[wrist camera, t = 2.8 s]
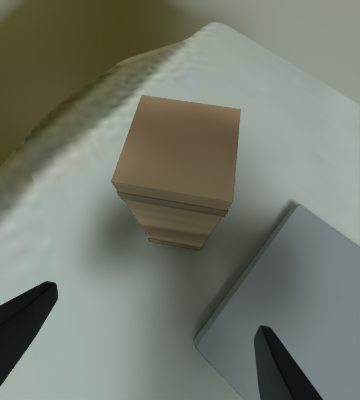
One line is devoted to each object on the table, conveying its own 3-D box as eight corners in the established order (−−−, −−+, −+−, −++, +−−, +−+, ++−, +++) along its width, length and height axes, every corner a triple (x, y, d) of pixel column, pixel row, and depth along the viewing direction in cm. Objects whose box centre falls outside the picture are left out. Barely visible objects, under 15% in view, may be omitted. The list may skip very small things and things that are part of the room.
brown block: (200, 250, 20) (234, 205, 8) (149, 241, 20) (108, 183, 8) (206, 203, 22) (242, 107, 10) (160, 195, 22) (140, 93, 10)
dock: (321, 476, 14) (344, 508, 12) (193, 340, 17) (195, 348, 15) (400, 291, 18) (426, 293, 17) (288, 210, 21) (299, 203, 19)
